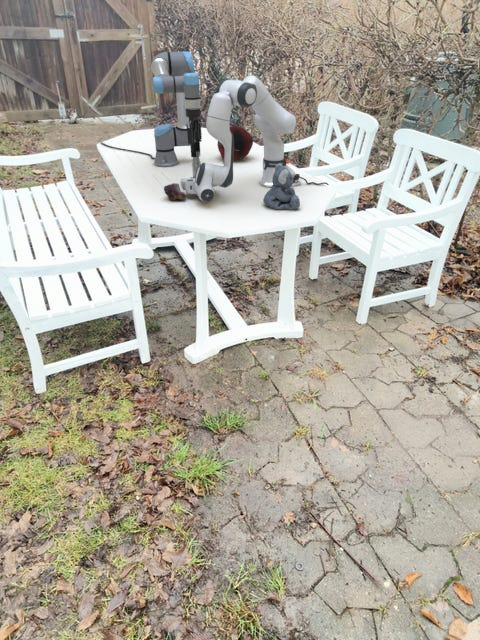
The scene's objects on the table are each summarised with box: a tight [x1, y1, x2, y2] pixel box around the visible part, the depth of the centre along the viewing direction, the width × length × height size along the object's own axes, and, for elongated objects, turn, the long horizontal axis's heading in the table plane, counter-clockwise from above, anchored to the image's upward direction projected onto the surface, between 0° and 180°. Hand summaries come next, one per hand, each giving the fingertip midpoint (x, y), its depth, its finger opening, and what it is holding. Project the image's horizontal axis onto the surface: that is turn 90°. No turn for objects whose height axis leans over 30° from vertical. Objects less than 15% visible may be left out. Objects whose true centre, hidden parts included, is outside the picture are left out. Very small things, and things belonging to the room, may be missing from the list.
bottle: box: [191, 156, 202, 178], centre depth 244 cm, size 5×5×20 cm
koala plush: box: [262, 164, 301, 211], centre depth 224 cm, size 17×18×20 cm
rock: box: [163, 182, 187, 201], centre depth 236 cm, size 12×9×10 cm
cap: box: [196, 150, 201, 158], centre depth 239 cm, size 4×4×2 cm
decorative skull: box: [217, 125, 254, 164], centre depth 298 cm, size 21×24×25 cm
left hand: (195, 155), depth 239 cm, fingers closed on cap, 4 cm apart
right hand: (196, 178), depth 247 cm, fingers closed on bottle, 5 cm apart
